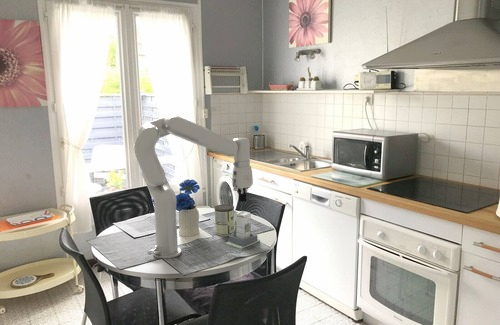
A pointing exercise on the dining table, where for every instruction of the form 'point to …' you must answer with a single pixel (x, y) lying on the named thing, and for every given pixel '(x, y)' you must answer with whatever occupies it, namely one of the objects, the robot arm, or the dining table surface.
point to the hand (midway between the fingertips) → (242, 200)
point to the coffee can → (224, 220)
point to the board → (239, 245)
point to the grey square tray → (243, 240)
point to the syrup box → (242, 224)
